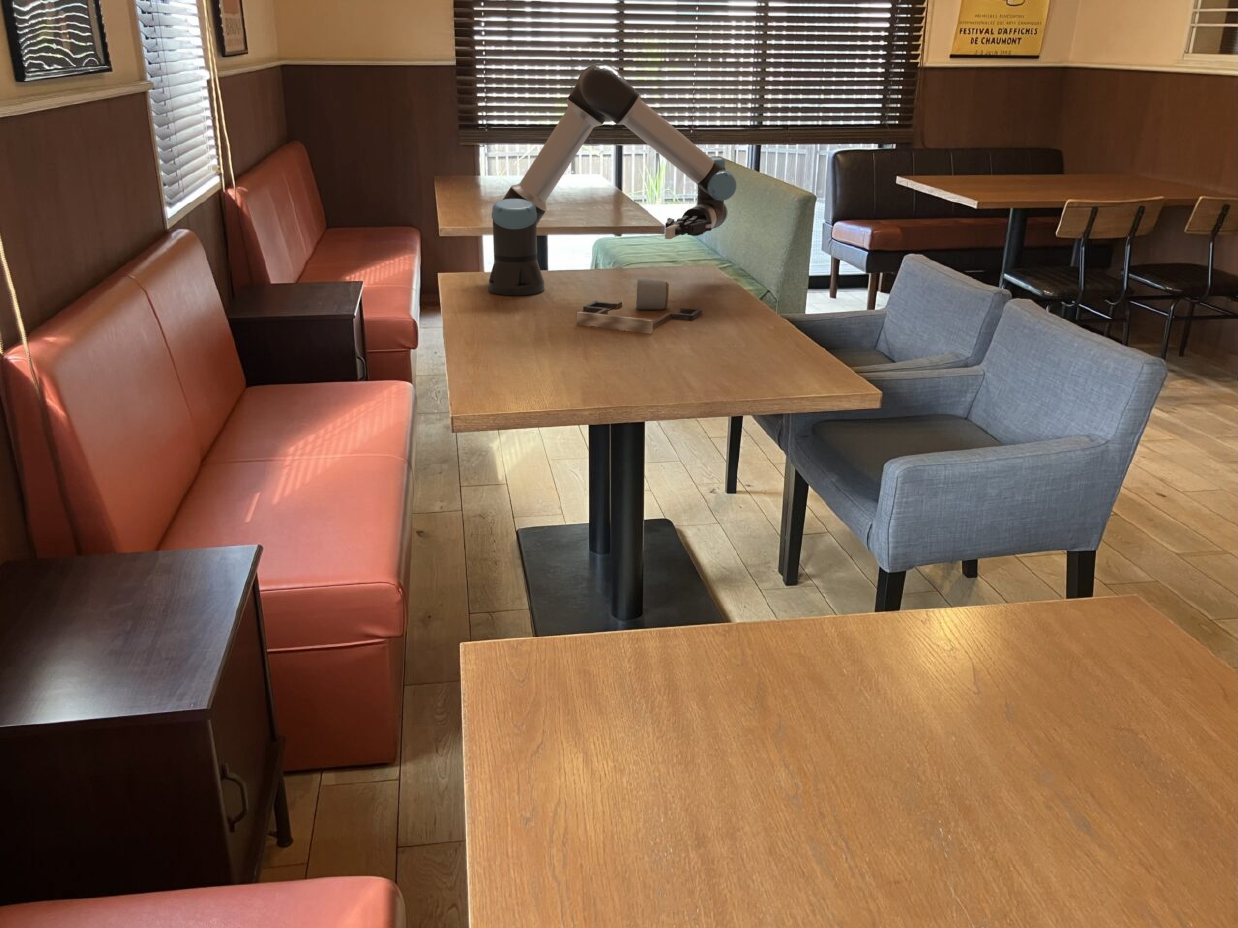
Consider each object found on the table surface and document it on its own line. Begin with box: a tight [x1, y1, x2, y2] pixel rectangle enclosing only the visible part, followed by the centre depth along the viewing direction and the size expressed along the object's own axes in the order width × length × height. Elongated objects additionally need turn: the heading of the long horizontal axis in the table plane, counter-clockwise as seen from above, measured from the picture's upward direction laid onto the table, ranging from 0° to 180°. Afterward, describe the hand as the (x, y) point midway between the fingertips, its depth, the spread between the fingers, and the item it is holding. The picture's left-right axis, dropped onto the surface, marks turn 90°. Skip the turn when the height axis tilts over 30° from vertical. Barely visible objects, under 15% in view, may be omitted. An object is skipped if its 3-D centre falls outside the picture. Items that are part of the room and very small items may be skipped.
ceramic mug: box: [635, 278, 670, 311], centre depth 261 cm, size 11×8×8 cm
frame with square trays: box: [576, 300, 703, 335], centre depth 251 cm, size 28×23×3 cm
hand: (667, 233), depth 263 cm, fingers closed
